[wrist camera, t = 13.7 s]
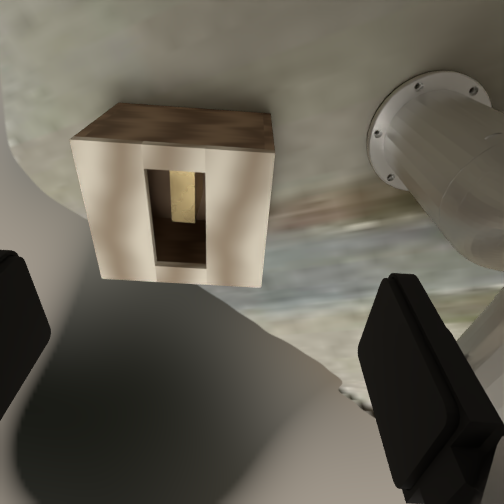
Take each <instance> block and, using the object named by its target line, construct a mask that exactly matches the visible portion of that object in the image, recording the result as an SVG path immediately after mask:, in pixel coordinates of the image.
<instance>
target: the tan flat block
mask: <svg viewBox="0 0 504 504" xmlns="http://www.w3.org/2000/svg"><path fill="white" fill-rule="evenodd" d="M169 172H170V193H171V214H172V221H174V222H186V223H195V221H196V217H197V214H198V210H199V207H200V203H201V200H202V196H203V173H201V172H186V171H171V170H169Z"/></svg>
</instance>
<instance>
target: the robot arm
mask: <svg viewBox="0 0 504 504" xmlns="http://www.w3.org/2000/svg"><path fill="white" fill-rule="evenodd" d="M417 83H418V86H417V87H416V88H414V87H415V85H416V84H417ZM471 88H472V89H471ZM470 89H471V91H470ZM469 91H470V92H469ZM376 130H378V132H377V133H376V134H375V131H376ZM367 153H368V157H369V161H370V164H371V165H372V167H373V169H374V171H375V172H376V173H377V175H378V176H379V177H380V178H381V179H382V180H383V181H384V182H385V183H387V184H388V185H390V186H392V187H394V188H397V189H401V190H405V191H410V193H411V194H412V195H413V196H414V198H415V199H416V200H417V202H418V203H419V204H420V205H421V207H422V208H423V209H424V210H425V212H426V213H427V214H428V215H429V217H430V218H431V219H432V221H433V222H434V223H435V224H436V226H437V227H438V228H439V229H440V231H441V232H442V233H443V235H444V236H445V237H446V238H447V240H448V241H449V242H450V243H451V244H452V246H453V247H454V248H455V249H456V250H457V251H458V252H459V253H460V254H461V255H463V256H464V257H465V258H467V259H468V260H470V261H471V262H473V263H476V264H478V265H480V266H483V267H485V268H489V269H493V270H498V271H503V272H504V113H501V112H499V111H497V110H495V109H493V108H492V104H491V101H490V98H489V95H488V93H487V92H486V91H485V89H484V88H483V86H482V85H481V84H480V83H478V82H477V81H476V80H475V79H473V78H471V77H469V76H467V75H465V74H462V73H459V72H455V71H445V70H441V71H433V72H428V73H425V74H422V75H419V76H416V77H414V78H413V79H411V80H409V81H407V82H405V83H404V84H402V85H401V86H400V87H398V88H397V89H396V90H394V91H393V92H392V93H391V94H390V95H389V96H388V97H387V98H386V99H385V100H384V102H383V103H382V105H381V106H380V107H379V109H378V110H377V112H376V114H375V116H374V118H373V120H372V122H371V125H370V128H369V132H368V138H367ZM389 174H390V176H388V175H389ZM50 335H51V329H50V326H49V323H48V321H47V318H46V315H45V313H44V310H43V307H42V305H41V302H40V299H39V297H38V294H37V292H36V289H35V286H34V284H33V281H32V278H31V276H30V273H29V271H28V268H27V265H26V263H25V261H24V259H23V258H22V257H19V256H18V254H17V253H16V252H15V251H11V250H0V420H1V419H2V417H3V415H4V414H5V412H6V410H7V409H8V407H9V406H10V404H11V402H12V401H13V399H14V397H15V396H16V394H17V392H18V391H19V389H20V387H21V386H22V384H23V383H24V381H25V379H26V377H27V376H28V374H29V373H30V371H31V369H32V368H33V366H34V364H35V363H36V361H37V360H38V358H39V356H40V355H41V353H42V351H43V350H44V348H45V346H46V345H47V343H48V341H49V339H50ZM358 357H359V361H360V365H361V368H362V372H363V375H364V379H365V383H366V386H367V390H368V393H369V397H370V400H371V404H372V407H373V411H374V415H375V418H376V422H377V425H378V429H379V432H380V436H381V439H382V443H383V447H384V450H385V454H386V457H387V461H388V464H389V468H390V471H391V475H392V478H393V481H394V484H395V486H396V487H397V488H399V489H402V490H403V494H404V497H405V501H406V503H412V504H504V287H503V288H502V289H501V290H500V292H499V293H498V294H497V295H496V296H495V298H494V300H493V301H492V302H491V303H490V304H489V305H488V307H487V308H486V309H485V310H484V311H483V312H482V313H481V314H480V315H479V317H478V318H477V319H476V320H475V321H474V322H473V323H472V324H471V325H470V327H469V328H468V329H467V330H466V331H465V332H464V333H463V334H462V335H461V337H460V338H459V339H458V340H457V341H456V340H455V339H454V337H453V335H452V333H451V332H450V331H449V330H448V329H447V328H446V326H445V325H444V323H443V321H442V319H441V318H440V316H439V314H438V312H437V311H436V309H435V307H434V305H433V304H432V302H431V300H430V298H429V297H428V295H427V293H426V291H425V290H424V288H423V286H422V284H421V283H420V281H419V279H418V278H417V276H416V275H414V274H400V273H392V274H390V275H389V277H388V278H384V279H383V280H382V281H381V284H380V287H379V289H378V292H377V295H376V298H375V300H374V303H373V306H372V309H371V312H370V314H369V317H368V320H367V323H366V326H365V328H364V331H363V334H362V337H361V339H360V342H359V345H358Z"/></svg>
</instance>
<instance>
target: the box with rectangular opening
mask: <svg viewBox="0 0 504 504" xmlns="http://www.w3.org/2000/svg"><path fill="white" fill-rule="evenodd" d="M70 144H71V148H72V153H73V157H74V161H75V166H76V170H77V174H78V178H79V183H80V187H81V191H82V196H83V200H84V204H85V208H86V213H87V217H88V221H89V226H90V230H91V234H92V239H93V243H94V247H95V251H96V256H97V259H98V264H99V269H100V273H101V277H102V279H118V280H119V279H120V280H135V281H136V280H137V281H152V282H170V283H187V284H205V285H222V286H239V287H257V288H261V283H262V274H263V264H264V254H265V245H266V235H267V226H268V216H269V207H270V197H271V188H272V178H273V169H274V159H275V148H274V139H273V130H272V122H271V113H257V112H243V111H229V110H215V109H201V108H186V107H172V106H158V105H144V104H130V103H118V104H116V105H115V106H114V107H112V108H111V109H110V110H108V111H107V112H106V113H104V114H103V115H102V116H100V117H99V118H98V119H96V120H95V121H94V122H92V123H91V124H90V125H88V126H87V127H86V128H84V129H83V130H82V131H80V132H79V133H78V134H76V135H75V136H74V137H72V138H71V139H70ZM169 170H171V171H186V172H201V173H203V196H202V200H201V203H200V207H199V210H198V214H197V217H196V221H195V223H186V222H174V221H172V214H171V193H170V172H169Z"/></svg>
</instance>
